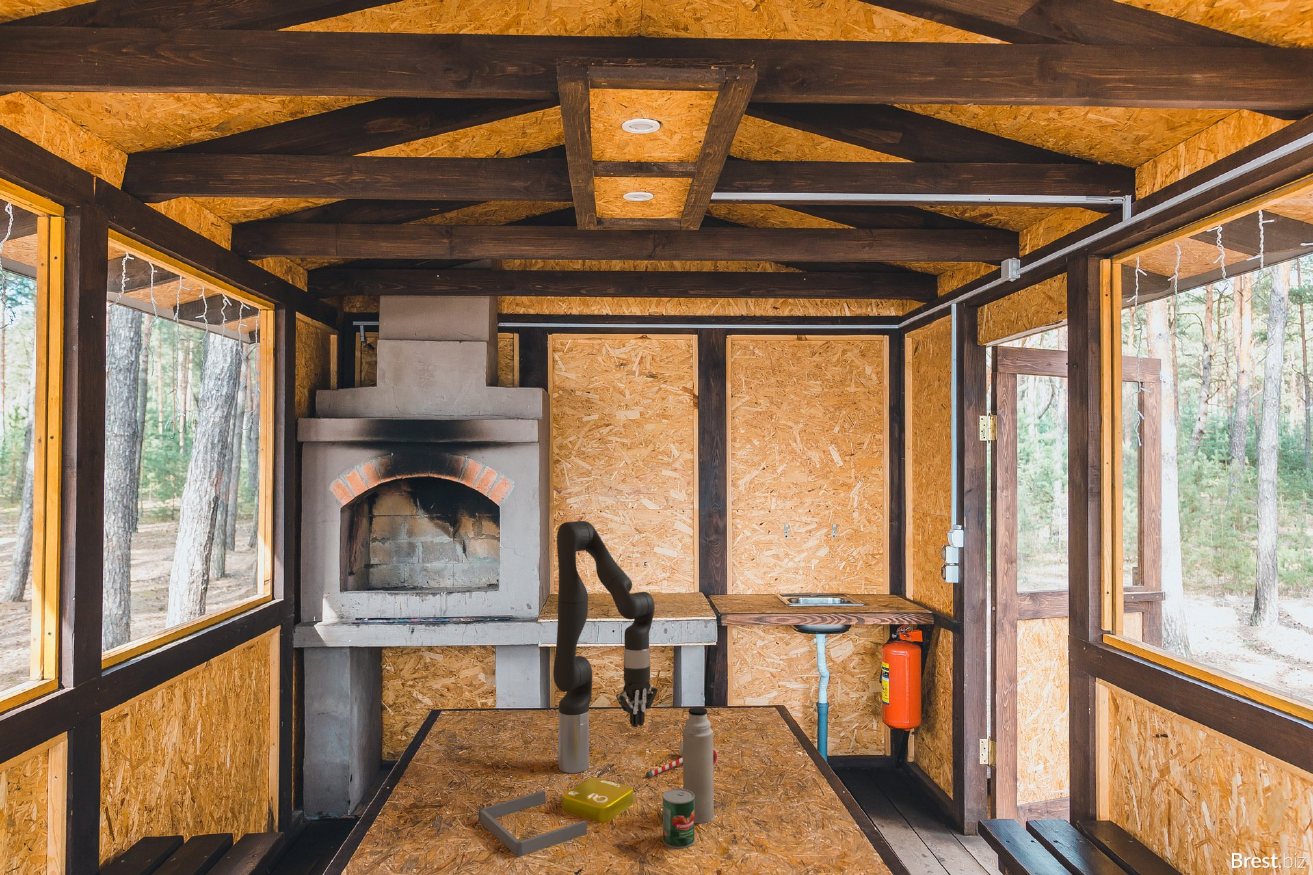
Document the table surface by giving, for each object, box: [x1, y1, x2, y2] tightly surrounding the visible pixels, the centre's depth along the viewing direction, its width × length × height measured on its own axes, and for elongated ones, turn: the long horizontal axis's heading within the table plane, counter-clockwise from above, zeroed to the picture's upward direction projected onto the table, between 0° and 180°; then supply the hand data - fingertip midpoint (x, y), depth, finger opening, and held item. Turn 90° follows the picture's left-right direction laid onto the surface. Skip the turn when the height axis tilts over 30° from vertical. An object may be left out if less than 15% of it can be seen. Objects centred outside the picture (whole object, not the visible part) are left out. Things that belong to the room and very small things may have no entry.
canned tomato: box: [662, 788, 696, 849], centre depth 189 cm, size 8×8×11 cm
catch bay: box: [478, 790, 588, 858], centre depth 196 cm, size 23×19×3 cm
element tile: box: [561, 776, 634, 824], centre depth 208 cm, size 15×15×5 cm
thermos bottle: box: [682, 706, 715, 824], centre depth 202 cm, size 8×8×28 cm
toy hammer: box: [645, 740, 719, 779], centre depth 234 cm, size 23×12×6 cm, turn 127°
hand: (637, 725), depth 216 cm, fingers closed
